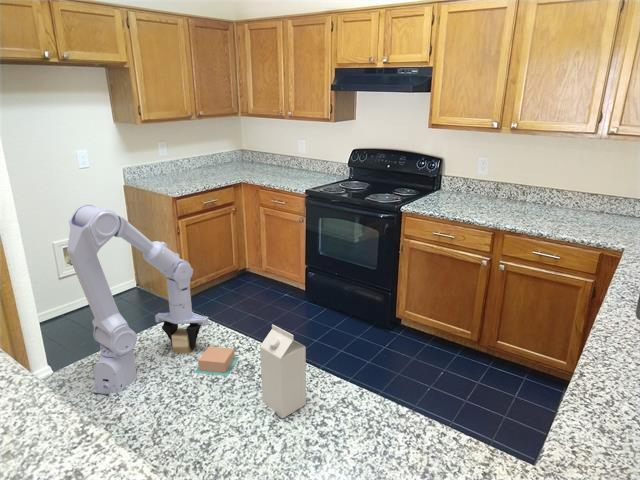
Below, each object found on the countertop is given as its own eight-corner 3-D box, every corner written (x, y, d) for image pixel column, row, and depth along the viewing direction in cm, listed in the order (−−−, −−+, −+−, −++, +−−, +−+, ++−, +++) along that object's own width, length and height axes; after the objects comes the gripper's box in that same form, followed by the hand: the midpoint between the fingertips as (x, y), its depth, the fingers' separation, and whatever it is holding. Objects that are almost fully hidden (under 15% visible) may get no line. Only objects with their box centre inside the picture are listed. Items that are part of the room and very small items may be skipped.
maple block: (188, 357, 123) (187, 337, 121) (173, 355, 124) (171, 335, 122) (196, 348, 127) (194, 329, 126) (181, 347, 128) (179, 328, 126)
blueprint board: (229, 385, 110) (229, 382, 110) (183, 380, 112) (183, 377, 112) (248, 355, 124) (248, 352, 123) (206, 351, 126) (206, 348, 125)
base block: (225, 373, 114) (224, 362, 113) (198, 370, 115) (197, 360, 114) (234, 358, 120) (234, 348, 120) (209, 356, 122) (209, 346, 121)
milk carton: (286, 391, 108) (284, 319, 103) (306, 405, 103) (305, 329, 98) (262, 404, 103) (259, 329, 98) (282, 419, 98) (280, 341, 93)
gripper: (211, 297, 124) (214, 341, 128) (162, 293, 126) (167, 337, 130) (200, 308, 117) (204, 354, 121) (149, 304, 120) (154, 349, 123)
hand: (184, 346), depth 125 cm, fingers closed on maple block, 4 cm apart
